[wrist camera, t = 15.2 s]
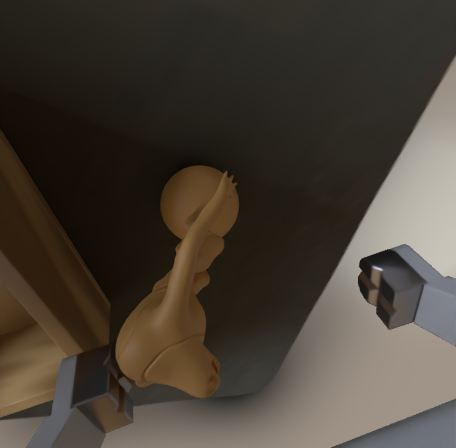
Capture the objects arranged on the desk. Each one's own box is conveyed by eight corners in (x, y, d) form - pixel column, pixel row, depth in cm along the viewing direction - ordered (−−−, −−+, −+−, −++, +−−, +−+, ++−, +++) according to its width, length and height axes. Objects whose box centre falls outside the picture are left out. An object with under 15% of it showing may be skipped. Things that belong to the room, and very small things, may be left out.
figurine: (204, 248, 21) (269, 456, 12) (105, 236, 19) (90, 482, 10) (252, 124, 18) (404, 289, 8) (134, 90, 15) (157, 266, 6)
